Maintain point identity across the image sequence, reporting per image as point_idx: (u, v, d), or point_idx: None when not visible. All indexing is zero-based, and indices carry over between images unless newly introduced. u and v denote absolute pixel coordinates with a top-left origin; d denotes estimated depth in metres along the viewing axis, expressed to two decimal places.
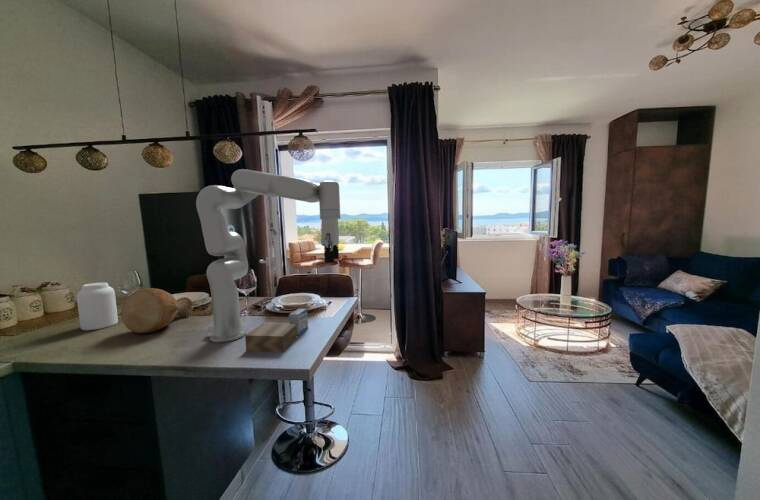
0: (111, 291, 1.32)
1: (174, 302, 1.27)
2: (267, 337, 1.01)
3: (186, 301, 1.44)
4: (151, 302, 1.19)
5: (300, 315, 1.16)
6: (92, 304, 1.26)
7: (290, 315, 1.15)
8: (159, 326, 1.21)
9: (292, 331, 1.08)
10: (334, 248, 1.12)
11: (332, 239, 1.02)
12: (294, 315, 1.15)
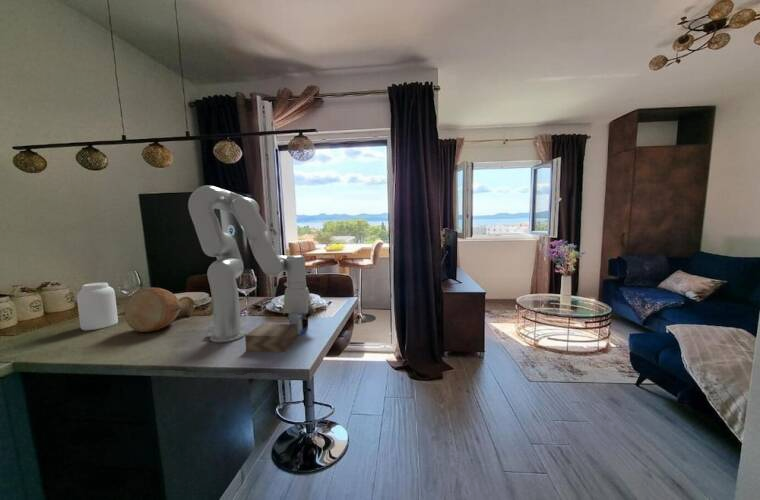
0: (111, 291, 1.32)
1: (176, 301, 1.29)
2: (266, 337, 1.01)
3: (188, 300, 1.45)
4: (154, 301, 1.20)
5: (300, 315, 1.16)
6: (92, 304, 1.26)
7: (290, 315, 1.15)
8: (162, 325, 1.22)
9: (292, 332, 1.08)
10: None
11: (310, 305, 1.19)
12: (294, 315, 1.15)
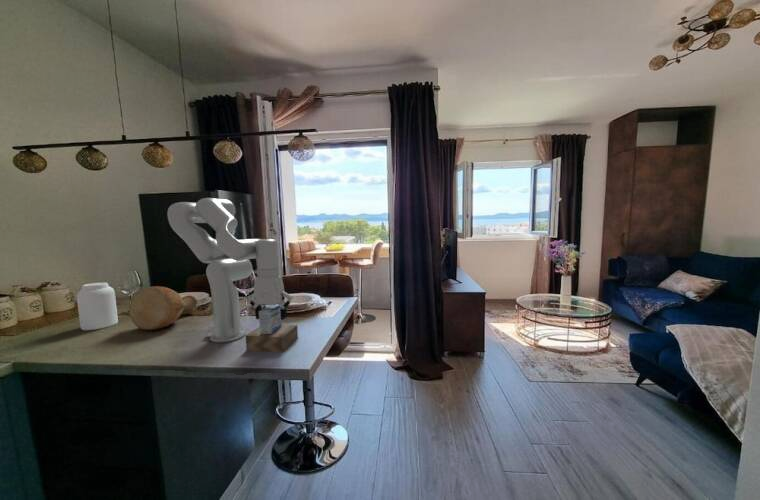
0: (111, 291, 1.32)
1: (180, 300, 1.31)
2: (266, 337, 1.01)
3: (191, 299, 1.47)
4: (158, 299, 1.23)
5: (272, 312, 1.04)
6: (92, 304, 1.26)
7: (260, 312, 1.02)
8: (166, 323, 1.25)
9: (293, 332, 1.08)
10: (259, 307, 1.07)
11: None
12: (265, 312, 1.02)
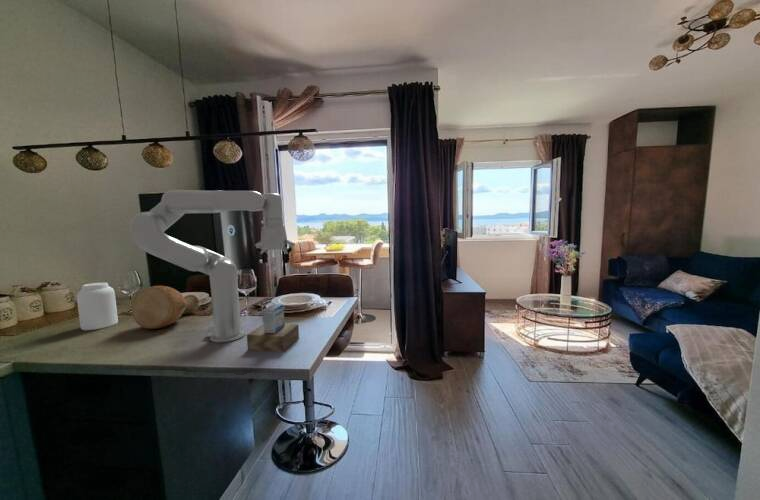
0: (111, 291, 1.32)
1: (182, 299, 1.32)
2: (267, 337, 1.01)
3: (192, 298, 1.49)
4: (161, 299, 1.24)
5: (275, 311, 1.04)
6: (92, 304, 1.26)
7: (264, 311, 1.02)
8: (168, 322, 1.26)
9: (294, 332, 1.08)
10: (265, 253, 1.23)
11: (287, 243, 1.23)
12: (269, 311, 1.02)
